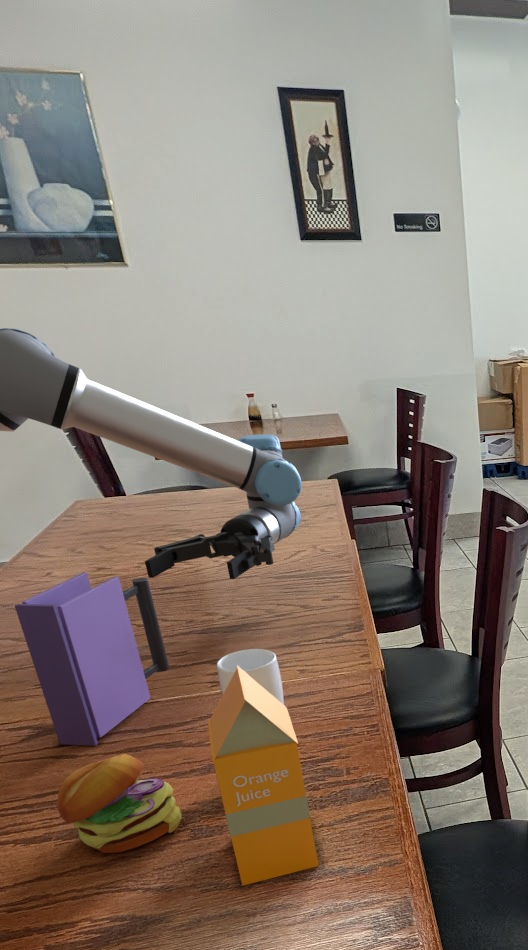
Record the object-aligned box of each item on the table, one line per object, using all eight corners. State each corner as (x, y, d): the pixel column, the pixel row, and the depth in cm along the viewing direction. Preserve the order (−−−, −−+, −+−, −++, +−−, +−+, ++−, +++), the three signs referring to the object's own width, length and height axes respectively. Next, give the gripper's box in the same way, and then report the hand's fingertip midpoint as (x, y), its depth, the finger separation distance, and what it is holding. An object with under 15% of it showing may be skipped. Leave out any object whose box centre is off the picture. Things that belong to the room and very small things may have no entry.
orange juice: (240, 886, 82) (198, 707, 73) (234, 838, 89) (195, 671, 80) (320, 865, 84) (289, 691, 76) (307, 821, 92) (277, 657, 83)
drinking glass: (300, 753, 105) (280, 646, 99) (293, 781, 99) (272, 668, 93) (245, 759, 104) (221, 650, 98) (235, 787, 98) (209, 673, 92)
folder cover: (91, 737, 109) (51, 606, 101) (163, 681, 125) (133, 563, 117) (105, 738, 109) (66, 606, 101) (176, 681, 125) (147, 564, 117)
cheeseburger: (169, 855, 86) (121, 778, 82) (74, 880, 87) (21, 806, 82) (198, 800, 95) (157, 729, 91) (112, 824, 96) (67, 754, 91)
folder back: (59, 744, 109) (14, 605, 100) (119, 700, 120) (82, 572, 112) (95, 746, 108) (52, 606, 99) (151, 701, 120) (117, 572, 111)
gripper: (319, 555, 148) (269, 594, 129) (188, 553, 151) (121, 591, 132) (312, 514, 145) (260, 547, 126) (179, 513, 148) (109, 546, 129)
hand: (189, 570), depth 129 cm, fingers open, 13 cm apart
